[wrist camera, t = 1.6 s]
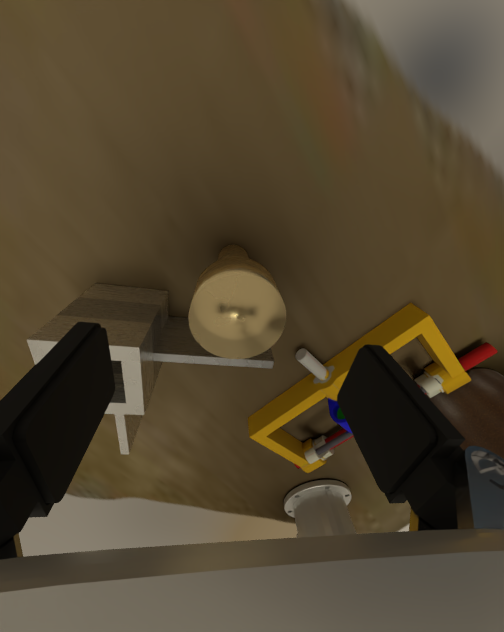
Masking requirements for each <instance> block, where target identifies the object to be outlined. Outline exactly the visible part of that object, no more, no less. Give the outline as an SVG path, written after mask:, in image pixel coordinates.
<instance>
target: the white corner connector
mask: <svg viewBox="0 0 504 632" xmlns="http://www.w3.org/2000/svg"><path fill="white" fill-rule="evenodd" d="M78 322H91V323H99V324H100V325H101V328H105V329H106V331H107V336H108V343H109V349H110V355H111V361H112V368H113V374H114V380H115V392H114V395H113V397H112V399H111V401H110V403H109V405H108V407H107V409H106V412H105V414H115V419H116V425H117V432H118V438H119V444H120V451H121V454H130V451H131V448H132V445H133V442H134V439H135V436H136V434H137V431H138V428H139V425H140V422H141V419H142V416H143V415H144V414H145V411H146V408H147V406H148V403H149V400H150V397H151V394H152V391H153V388H154V385H155V382H156V380H157V377H158V374H159V371H160V368H161V365H162V362H179V363H195V364H210V365H226V366H242V367H257V368H272V367H273V364H274V359H273V355H272V351H271V347H270V348H269V349H268V350H266V351H265V352H263V353H261V354H259V355H256V356H253V357H250V358H245V359H228V358H223V357H219V356H216V355H214V354H212V353H210V352H208V351H207V350H205V349H204V348H203V347H202V346H201V345H200V344H199V343H198V342H197V341H196V340H195V338H194V336H193V335H192V333H191V330H190V327H189V319H188V318H183V317H172V316H168V291H165V290H156V289H146V288H137V287H128V286H118V285H109V284H100V283H95V284H94V285H93V286H92V287H91V288H89V289H88V290H87V291H86V292H84V293H83V294H82V295H81V296H79V297H78V298H77V299H76V300H75V301H73V302H72V303H71V304H70V305H68V306H67V307H66V308H65V309H64V310H62V311H61V312H60V313H59V314H57V315H56V316H55V317H54V318H53V319H51V320H50V321H49V322H48V323H46V324H45V325H44V326H43V327H42V328H40V329H39V330H38V331H37V332H35V333H34V334H33V335H32V336H30V337H29V338H28V339H27V342H28V345H29V348H30V351H31V354H32V357H33V360H34V363H35V365H36V364H37V363H38V362H39V361H40V360H41V359H42V358H43V357H44V356H45V355H46V354H47V353H48V352H49V351H50V350H51V349H52V348H53V347H54V346H55V345H56V344H57V343H58V342H59V341H60V340H61V339H62V338H63V337H64V336H65V335H66V333H67V332H68V331H69V330H70V329H71V328H72V327H73V326H74V325H75V324H76V323H78Z"/></svg>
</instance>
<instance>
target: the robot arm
mask: <svg viewBox="0 0 504 632" xmlns="http://www.w3.org/2000/svg"><path fill="white" fill-rule="evenodd" d="M114 392H115V380H114V374H113V368H112V361H111V355H110V349H109V343H108V336H107V331H106V329H105V328H101V325H100V324H99V323H91V322H78V323H76V324H75V325H74V326H73V327H72V328H71V329H70V330H69V331H68V332H67V333H66V335H65V336H64V337H63V338H62V339H61V340H60V341H59V342H58V343H57V344H56V345H55V346H54V347H53V348H52V349H51V350H50V351H49V352H48V353H47V354H46V355H45V356H44V357H43V358H42V359H41V360H40V361H39V362H38V363H37V364H36V365H35V366H34V367H33V368H32V369H31V370H30V371H29V372H28V373H27V374H26V375H25V376H24V377H23V378H22V379H21V380H20V381H19V382H18V383H17V384H16V385H15V386H14V387H13V388H12V389H11V390H10V391H9V393H8V394H7V395H6V396H5V397H4V398H3V399H2V400H1V401H0V632H504V459H503V458H502V457H500V456H498V455H497V454H495V453H493V452H492V451H490V450H487V449H485V448H483V447H479V446H469V447H467V448H466V449H465V450H463V449H462V448H461V447H460V445H461V444H462V443H463V442H464V440H465V438H464V437H463V436H462V435H461V434H460V433H459V431H458V430H457V429H456V428H455V427H454V426H453V425H452V424H451V422H450V421H449V420H448V419H447V418H446V417H445V416H444V415H443V414H442V412H441V411H440V410H439V409H438V408H437V407H436V406H435V405H434V403H433V402H432V401H431V400H430V399H429V398H428V397H427V396H426V395H425V393H424V392H423V391H422V390H421V389H420V388H419V387H418V386H417V384H416V383H415V382H414V381H413V380H412V379H411V378H410V377H409V375H408V374H407V373H406V372H405V371H404V370H403V369H402V368H401V367H400V365H399V364H398V363H397V362H396V361H395V360H394V359H393V358H392V356H391V355H390V354H389V353H388V352H387V351H386V350H385V349H384V348H383V347H382V346H380V345H370V344H366V345H364V346H363V347H362V348H360V349H359V350H358V352H357V354H356V357H355V359H354V361H353V363H352V365H351V367H350V369H349V371H348V373H347V376H346V378H345V380H344V382H343V384H342V386H341V388H340V390H339V392H338V395H337V402H338V405H339V407H340V409H341V411H342V413H343V415H344V417H345V419H346V421H347V423H348V425H349V427H350V429H351V431H352V433H353V436H354V438H355V440H356V442H357V444H358V446H359V448H360V450H361V452H362V454H363V456H364V458H365V460H366V462H367V464H368V466H369V469H370V471H371V473H372V475H373V477H374V479H375V481H376V483H377V485H378V487H379V489H380V490H381V491H382V492H384V493H385V495H386V497H387V499H388V501H389V503H404V502H405V501H406V500H408V502H409V504H410V506H411V513H410V526H409V531H408V532H388V533H370V534H357V533H356V531H355V528H354V525H353V523H352V520H351V517H350V514H349V512H348V509H347V505H348V504H349V502H350V500H351V497H352V496H351V492H350V490H349V488H348V486H347V485H346V484H344V483H342V482H340V481H337V480H317V481H312V482H308V483H305V484H302V485H300V486H298V487H296V488H294V489H293V490H292V491H290V492H289V493H288V494H287V495H286V497H285V499H284V509H285V512H286V513H287V514H288V515H289V516H291V517H294V518H295V521H296V526H297V531H298V533H297V538H284V539H267V540H251V541H234V542H218V543H203V544H188V545H172V546H159V547H143V548H126V549H112V550H98V551H87V552H75V553H63V554H51V555H39V556H27V557H23V554H22V549H21V543H20V538H19V532H20V531H21V530H22V528H23V526H24V525H25V523H26V521H27V519H28V518H29V517H47V515H48V514H49V512H50V510H51V508H52V506H53V504H54V503H58V502H60V501H61V499H62V498H63V496H64V495H65V493H66V491H67V489H68V487H69V485H70V483H71V481H72V479H73V476H74V474H75V472H76V470H77V468H78V466H79V464H80V462H81V460H82V458H83V456H84V454H85V452H86V450H87V448H88V446H89V444H90V442H91V440H92V438H93V436H94V434H95V432H96V430H97V428H98V426H99V424H100V422H101V420H102V418H103V416H104V414H105V412H106V409H107V407H108V405H109V403H110V401H111V399H112V397H113V395H114Z"/></svg>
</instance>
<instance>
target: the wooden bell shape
mask: <svg viewBox="0 0 504 632" xmlns="http://www.w3.org/2000/svg"><path fill="white" fill-rule="evenodd" d="M188 319H189V327H190V330H191V333H192V335H193V336H194V338H195V340H196V341H197V342H198V343H199V344H200V345H201V346H202V347H203V348H204V349H205V350H207V351H208V352H210V353H212V354H214V355H216V356H219V357H223V358H228V359H245V358H250V357H253V356H256V355H259V354H261V353H263V352H265V351H266V350H268V349H269V348H270V347H271V346H273V345H274V344H275V343H276V341H277V340H278V339H279V338H280V336H281V334H282V332H283V330H284V327H285V324H286V308H285V304H284V302H283V299H282V297H281V295H280V293H279V290H278V288H277V286H276V284H275V282H274V279H273V277H272V276H271V274H270V273H269V272H268V270H267V269H266V268H265V267H264V266H262V265H261V264H259V263H258V262H256V261H254V260H251V259H249V258H248V254H247V252H246V251H245V250H244V249H243V248H242V247H240V246H238V245H228V246H226V247H224V248H223V249H222V250H221V251H220V253H219V256H218V261H216V262H214V263H213V264H211V265H210V266H209V267H207V268H206V269H205V270H204V272H203V273H202V274H201V276H200V277H199V279H198V281H197V284H196V288H195V291H194V295H193V298H192V302H191V306H190V309H189V315H188Z"/></svg>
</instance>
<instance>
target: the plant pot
mask: <svg viewBox="0 0 504 632" xmlns="http://www.w3.org/2000/svg"><path fill="white" fill-rule="evenodd" d="M467 374H468V375H469V377H470V378H471V381H470V382H468V383H466V384H465V385H463V386H461V387H459V388H458V389H456V390H454V391H452V392H450V393H449V394H446V393H445V392H443V393H442V392H440V393H438V394H437V395H435V396H433V397H431V398H430V397H429V396H428V395H426V396H427V397H428V398H429V399H430V400H431V401H432V402H433V403H434V405H435V406H436V407H437V408H438V409H439V410H440V411H441V412H442V414H443V415H444V416H445V417H446V418H447V419H448V420H449V421H450V422H451V424H452V425H453V426H454V427H455V428H456V429H457V430H458V431H459V433H460V434H461V435H462V436H463V437H464V438H465V440H464V442H463V443H462V444H461V445H460V447H461V448H462V449H463V450H465V449H466V448H467V447H469V446H479V447H483V448H485V449H487V450H490V451H492V452H493V453H495V454H497V455H498V456H500V457H502V458H503V459H504V376H503V375H501V374H500V373H498V372H496V371H494V370H491V369H485V368H478V369H471V370H468V371H467Z"/></svg>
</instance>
